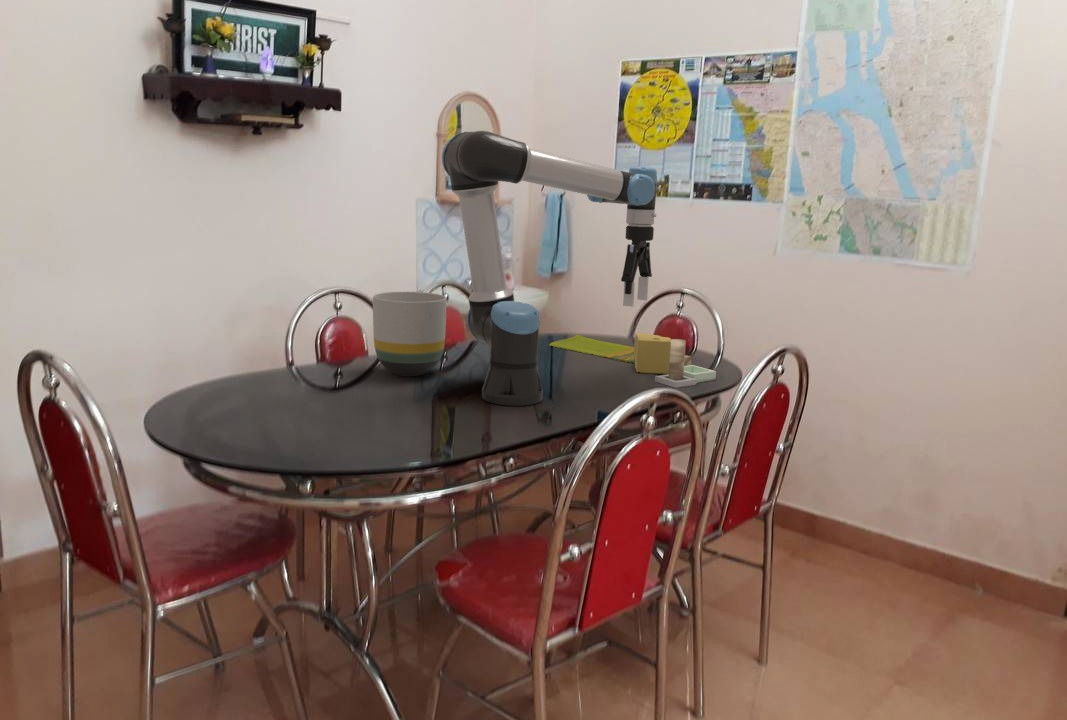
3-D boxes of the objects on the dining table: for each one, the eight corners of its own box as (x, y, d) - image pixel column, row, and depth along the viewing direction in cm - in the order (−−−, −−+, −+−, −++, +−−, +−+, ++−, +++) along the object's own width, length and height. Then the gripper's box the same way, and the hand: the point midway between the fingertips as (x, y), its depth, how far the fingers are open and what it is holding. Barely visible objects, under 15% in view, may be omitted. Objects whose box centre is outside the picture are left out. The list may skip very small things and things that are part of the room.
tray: (693, 383, 232) (694, 374, 231) (670, 376, 239) (670, 367, 239) (715, 379, 237) (716, 371, 237) (692, 373, 244) (692, 364, 244)
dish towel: (639, 367, 252) (639, 356, 251) (548, 348, 275) (548, 338, 274) (666, 360, 264) (667, 350, 263) (576, 342, 286) (577, 333, 286)
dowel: (675, 385, 229) (678, 342, 226) (665, 382, 232) (668, 339, 230) (685, 383, 231) (689, 341, 229) (675, 380, 234) (678, 338, 232)
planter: (423, 363, 242) (424, 290, 237) (458, 377, 226) (460, 299, 222) (360, 370, 230) (360, 293, 226) (393, 385, 215) (393, 303, 210)
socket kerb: (675, 387, 226) (675, 382, 226) (654, 381, 232) (655, 376, 232) (696, 384, 231) (696, 379, 230) (675, 378, 237) (675, 373, 236)
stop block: (683, 370, 247) (684, 357, 246) (659, 364, 255) (660, 351, 254) (690, 369, 249) (691, 356, 248) (666, 363, 257) (667, 350, 256)
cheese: (667, 367, 251) (669, 334, 249) (670, 375, 241) (673, 341, 239) (632, 365, 252) (634, 332, 250) (634, 373, 241) (637, 339, 239)
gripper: (640, 228, 214) (635, 310, 219) (665, 224, 237) (660, 298, 241) (612, 226, 217) (608, 307, 222) (639, 222, 239) (635, 296, 244)
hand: (635, 303), depth 231 cm, fingers open, 13 cm apart
